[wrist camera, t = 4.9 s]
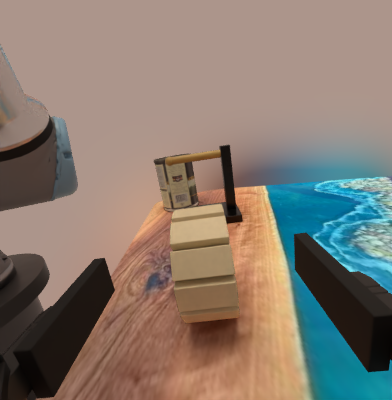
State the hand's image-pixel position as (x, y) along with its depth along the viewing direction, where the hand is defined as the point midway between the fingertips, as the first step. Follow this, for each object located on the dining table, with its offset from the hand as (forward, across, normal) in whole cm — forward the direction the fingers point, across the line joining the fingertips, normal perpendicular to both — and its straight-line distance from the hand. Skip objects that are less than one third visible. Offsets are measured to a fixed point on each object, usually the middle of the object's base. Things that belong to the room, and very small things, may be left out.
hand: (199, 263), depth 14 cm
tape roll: (+7, 0, -4) cm, 8 cm away
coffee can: (+45, -7, -10) cm, 46 cm away
